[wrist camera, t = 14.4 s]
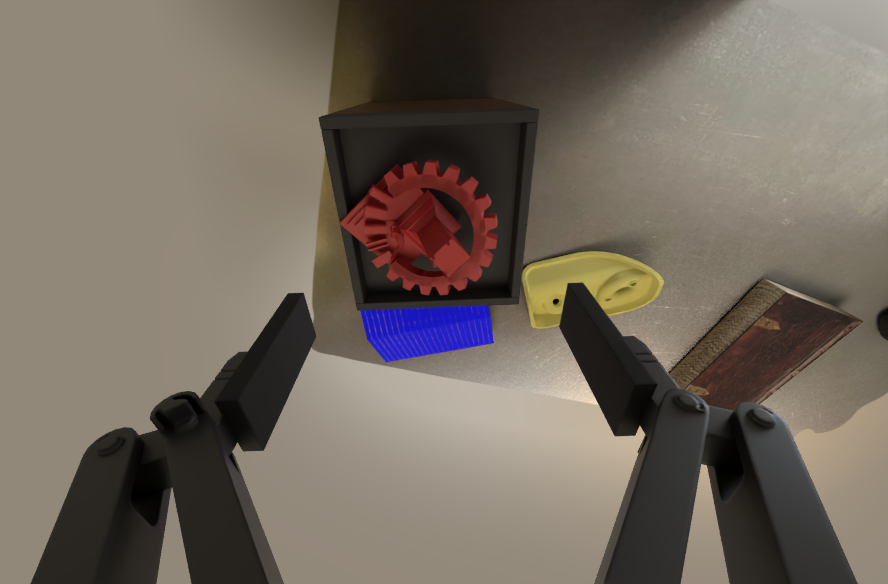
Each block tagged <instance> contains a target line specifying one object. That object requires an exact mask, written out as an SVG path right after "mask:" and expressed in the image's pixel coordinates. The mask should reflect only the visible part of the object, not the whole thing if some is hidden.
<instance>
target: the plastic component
mask: <svg viewBox="0 0 888 584" xmlns="http://www.w3.org/2000/svg"><path fill="white" fill-rule="evenodd" d="M579 282H583V283H584V284H585V286H586V287H587V288H588V290H589V291H590V293H591V294H592V295H593V297H594V298H595V299H596V301H597V302H598V303H599V305H600V306H601V307H602V309H603V310H604V312H605V313H606V314H607V316H611V315H616V314H620V313H624V312H628V311H632V310H635V309H638V308H640V307H642V306H645V305H646V304H648V303H650V302H651V301H653V300H654V299H655V298H656V297H657V296H658V294H659V293H660V290H661V288H662V286H663V284H664V281H663V279H662V277H661V276H660V275H659V274H658V273H657V272H655V271H654V270H653V269H651V268H650V267H648V266H647V265H645V264H643V263H641V262H639V261H637V260H634V259H632V258H629V257H626V256H623V255H619V254H615V253H609V252H599V251H590V252H579V253H574V254H570V255H565V256H561V257H557V258H553V259H548V260H544V261H540V262H535V263H531V264H530V265H528V266H527V267H526V268H525V269H524V271H523V273H522V284H523V288H524V292H525V297H526V303H527V309H528V314H529V318H530V322H531V326H532V327H534V328H538V329H542V328H549V327H554V326H559V325H560V320H561V315H562V310H563V304H564V299H565V294H566V289H567V284H568V283H579ZM554 299H559V302H558V303H557V304H553V300H554Z"/></svg>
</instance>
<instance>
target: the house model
mask: <svg viewBox="0 0 888 584" xmlns="http://www.w3.org/2000/svg"><path fill="white" fill-rule="evenodd" d="M360 311H361V315H362V319H363V323H364V327H365V331H366V335H367V339H368V341H369V342H370V343H371V344H372V346H373V347H374V348H375V349H376V350H377V352H378V353H379V354H380V355H381V356H382V358H383V359H384V360H385V361H386V362H391V361H395V362H396V360H400V361H401V360H402V359H405V360H406V359H407V358H413V357H420V356H425V355H430V354H435V353H439V354H440V353H441V352H444V353H445V352H447V351H449V352H450V351H452V350H454V351H455V350H458V349H459V350H460V349H463V348H464V349H465V348H470V347H475V346H480V345H486V344H492V343H494V342H493V334H492V327H491V319H490V313H489V308H488V305H485V306H460V307H434V308H409V309H383V310H360ZM415 359H416V358H415ZM410 360H411V359H410Z"/></svg>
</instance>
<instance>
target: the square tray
mask: <svg viewBox="0 0 888 584" xmlns="http://www.w3.org/2000/svg"><path fill="white" fill-rule="evenodd" d="M538 117H539V110H538V109H535V108H531V107H524V108H495V109H466V110H437V111H408V112H380V113H351V114H328V115H325V116H321V117H319V121H320V127H321V129H322V136H323V141H324V146H325V151H326V156H327V161H328V166H329V171H330V176H331V181H332V186H333V191H334V196H335V201H336V206H337V211H338V216H339V221H341V220H342V219H343V218H344V217H345V216H346V215H347V214H348V213H349V212H350V211H351V210H352V209H353V208H354V207H355V206H356V205H357V204H358V203H359V202H360V201H361V200H362V199H363V198H364V197H365V196H366V195H367V194H368V193H369V190H370V188H371V186H372V185H373V184H374V185H376V184H377V183H378V182H379V181H380V180H381V179H382V178H383V177H384V175H386V174H387V173H388V172H389V171H390V170H391V169H392V168H393V167H394V166H395V165H396V164H398V165H399V166H400V167H401V168H402V169H403V165H404V164H406V163H409V162H413V161H416V162H417V164H418V166H419V168H420V170H421V172H423V170H424V166H425V163H426V162H427V161H428V160H437V161H438V162H439V168H440V173H441V174H445V172H446V171H447V169H448V168H449V166H450V165H451V164H452V165H454V166H457V167H459V168H460V172H459V178H458V181H460V182H461V183H463V182H464V181H466V180H467V179H468V178H470V177H471V176H472V177H474V178H475V179H476V180H477V181H478V182H479V183H478V185H477V187H476V189H475V190H474V192H473V194H474V195H475V196H476V197H477V196H480V195H483V194H488V196H489V197H490V199H491V201H492V202H491V205H490V206H489V207H488V208H487V209H486V210H485V211H484V213H487V214H496V216H497V222H498V223H497V227H496V228H494V229H491V230H489V231H488V232H491V233H494V234H497V235H498V237H497V244H496V248H495V249H486V250H488V251H489V252H490V253H492V254H493V257H492V261H491V263H490V265H489V267H485V266H481V265H479V266H480V268H481V269H482V274H481V277H480V278H479V279H478V280H477V281H476V282H475V281H473V280H471V279H469V278H468V277H466V278H467V281H468V282H467V286H466V288H465V289H463V290H461V291H458V290H457V289H456V288H455V287H454V286H453V285H452V284H450V290H449V293H448V294H447V295H440V294H439V292H438V290H437V288H436V287H432V289H431V291H430V294H429V295H424V294H421V291H420V286H419V285H418V284H415V285H414V286H413V287H412V289H411V290H410V291H409V290H407V289H405V288H403V280H404V279H403V278H402V277H399V278H397V279H395V280H394V281H392V280H390V279H389V278H388V277H387V274H388V272H389V270H390V268H389V265H388V264H387V263H386V264H384V265H382V266H381V267H379V268H377V267H376V266H375V264H374V263H373V262H372V259H374V258H376V257H377V256H378V255H376V254H375V253H374V252H373V251H368V248H367V246H366V245H364V244H363V243H362V242H361V241H360V240H358V239H357V238H356V237H355V236H354V235H352V234H351V233H350V232H349V231H348V230H346V229H345V228H344V227H343V226H342V225H340V226H341V231H342V236H343V241H344V246H345V251H346V256H347V261H348V266H349V271H350V276H351V281H352V286H353V291H354V296H355V301H356V307H357V310H383V309H409V308H434V307H460V306H485V305H511V304H519V296H520V286H521V277H522V267H523V258H524V248H525V239H526V229H527V220H528V210H529V201H530V191H531V182H532V172H533V163H534V153H535V144H536V135H537V125H538V123H537V122H538ZM420 189H421V190H422V189H423V188H420ZM427 189H428V190H429V191H430V192H431V193H432V194H433V195H434V196H435V198H436V199H437V200H438V201H439V202H440V203H441V204H442V205H443V206H444V207H445V208H446V209H447V211H448V212H449V213H450V214H451V215H452V216H453V217H454V218H455V219H456V220H457V222H458V223H459V224H460V225H461V226H462V227H461V228H460V229H459V230H458V231H457V232H456V233H455V234H454V236H455V237H456V238H457V240H458V241H459V243H460V244H461V245H462V247H463V248H464V250H465V251H466V252H467V253H468V254H469V253H470V251H471V249H472V247H473V242H474V231H473V225H472V222H471V219H470V217H469V215H468V213H467V212H466V210H465V209H464V207H463V206H462V205H461V204H460V203H459V202H458V201H457V200H456V199H455V198H453V197H452V196H450V195H449V194H447V193H445V192H443V191H440V190H437V189H433V188H427ZM411 265H413V266H415V267H417V268H420V269H423V270H428V271H442V270H441V269H440V268H438V267H437V266H436V265H435V266H436V267H435V268H434V267H433V266H432V264H431V262H430V260H429V258H427V257H425V256H423V255H422V254H421V255H420V256H419V257H418V258H417V259H416V260H415V261H414V262H413V263H412V264H411Z"/></svg>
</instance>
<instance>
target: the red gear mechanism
mask: <svg viewBox="0 0 888 584" xmlns="http://www.w3.org/2000/svg"><path fill="white" fill-rule="evenodd" d="M459 172H460V168H459V167H457V166H454V165H452V164H451V165H450V166H449V168H448V169H447V171H446V172H445V174H441V173H440V168H439V162H438V161H437V160H428V161H427V162H426V163H425V166H424V170H423V172H421V170H420V168H419V166H418V164H417V162H416V161H413V162H409V163H406V164H404V165H403V169H402V168H401V167H400V166H399V165H398V164H396V165H395V166H394V167H393V168H392V169H391V170H390V171H389V172H388V173H387V174H386V175H384V177H383V178H382V179H381V180H380V181H379V182H378V183H377V184H376V185H374V184H373V185H372V186H371V188H370V190H369V193H368V194H367V195H366V196H365V197H364V198H363V199H362V200H361V201H360V202H359V203H358V204H357V205H356V206H355V207H354V208H353V209H352V210H351V211H350V212H349V213H348V214H347V215H346V216H345V217H344V218H343V219H342V220H341V221H340V225H342V226H343V227H344V228H345V229H346V230H348V231H349V232H350V233H351V234H352V235H354V236H355V237H356V238H357V239H358V240H360V241H361V242H362V243H363V244H364V245H366V246H367V248H368V251H373V252H374V253H375V254H376V255H378V256H377V257H376V258H374V259H372V262H373V263H374V264H375V266H376V267H377V268H379V267H381V266H382V265H384V264H386V263H387V264H388V265H389V268H390V270H389V272H388V274H387V277H388V278H389V279H390V280H392V281H394V280H395V279H397V278H399V277H402V278H403V279H404V280H403V288H405V289H407V290H409V291H410V290H411V289H412V287H413V286H414V285H415V284H418V285H419V286H420V291H421V294H424V295H429V294H430V291H431V289H432V287H436V288H437V290H438V292H439V294H440V295H447V294H448V293H449V290H450V284H452V285H453V286H454V287H455V288H456V289H457V290H458V291H461V290H463V289H465V288H466V286H467V282H468V281H467V278H466V277H468V278H469V279H471V280H473V281H475V282H476V281H477V280H478V279H479V278H480V277H481V274H482V269H481V268H480V266H479V265H481V266H485V267H489V265H490V263H491V261H492V257H493V254H492V253H490V252H489V251H488V250H486V249H495V248H496V244H497V237H498V235H497V234H494V233H491V232H488V231H489V230H491V229H494V228H496V227H497V223H498V222H497V216H496V214H487V213H484V211H485V210H486V209H487V208H488V207H489V206H490V205H491V202H492V201H491V199H490V197H489V196H488V194H483V195H480V196H477V197H476V196H475V195H474V194H473V192H474V190H475V189H476V187H477V185H478V183H479V182H478V181H477V180H476V179H475V178H474V177H472V176H471V177H470V178H468V179H467V180H466V181H464V182H463V183H461V182H460V181H458V178H459ZM420 188H423V189H422V190H421V189H420ZM427 188H433V189H437V190H440V191H443V192H445V193H447V194H449V195H450V196H452V197H453V198H455V199H456V200H457V201H458V202H459V203H460V204H461V205H462V206H463V207H464V209H465V210H466V212H467V213H468V215H469V217H470V219H471V222H472V225H473V231H474V242H473V247H472V249H471V251H470V253H469V254H468V253H467V252H466V251H465V250H464V248H463V247H462V245H461V244H460V243H459V241H458V240H457V238H456V237H455V236H454V234H455V233H456V232H457V231H458V230H459V229H460V228H461V227H462V226H461V225H460V224H459V223H458V222H457V220H456V219H455V218H454V217H453V216H452V215H451V214H450V213H449V212H448V211H447V209H446V208H445V207H444V206H443V205H442V204H441V203H440V202H439V201H438V200H437V199H436V198H435V196H434V195H433V194H432V193H431V192H430V191H429V190H428V189H427ZM421 254H422V255H423V256H425V257H427V258H429V260H430V262H431V264H432V266H433V267H434V268H435V267H436V266H437V267H438V268H440V269H441V270H442V271H428V270H423V269H420V268H417V267H415V266H413V265H411V264H412V263H413V262H414V261H415V260H416V259H417V258H418V257H419V256H420V255H421ZM435 265H436V266H435Z"/></svg>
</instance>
